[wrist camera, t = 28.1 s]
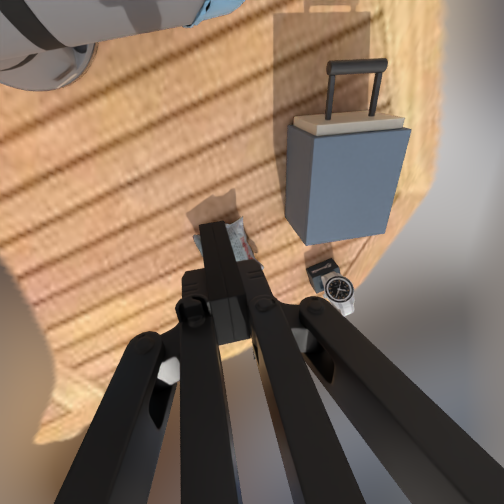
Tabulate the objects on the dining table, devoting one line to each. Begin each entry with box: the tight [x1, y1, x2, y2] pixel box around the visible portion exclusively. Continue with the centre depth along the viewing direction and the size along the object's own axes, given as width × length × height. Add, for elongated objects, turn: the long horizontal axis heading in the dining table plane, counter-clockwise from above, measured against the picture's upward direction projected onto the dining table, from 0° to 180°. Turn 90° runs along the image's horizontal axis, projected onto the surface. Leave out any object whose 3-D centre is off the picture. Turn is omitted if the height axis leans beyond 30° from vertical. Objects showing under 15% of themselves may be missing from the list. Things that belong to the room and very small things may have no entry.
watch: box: [306, 258, 355, 316], centre depth 52 cm, size 6×8×11 cm
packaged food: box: [193, 216, 264, 270], centre depth 46 cm, size 9×12×5 cm
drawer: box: [294, 58, 405, 137], centre depth 38 cm, size 20×11×8 cm, turn 3°
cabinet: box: [285, 125, 411, 246], centre depth 41 cm, size 15×13×10 cm
